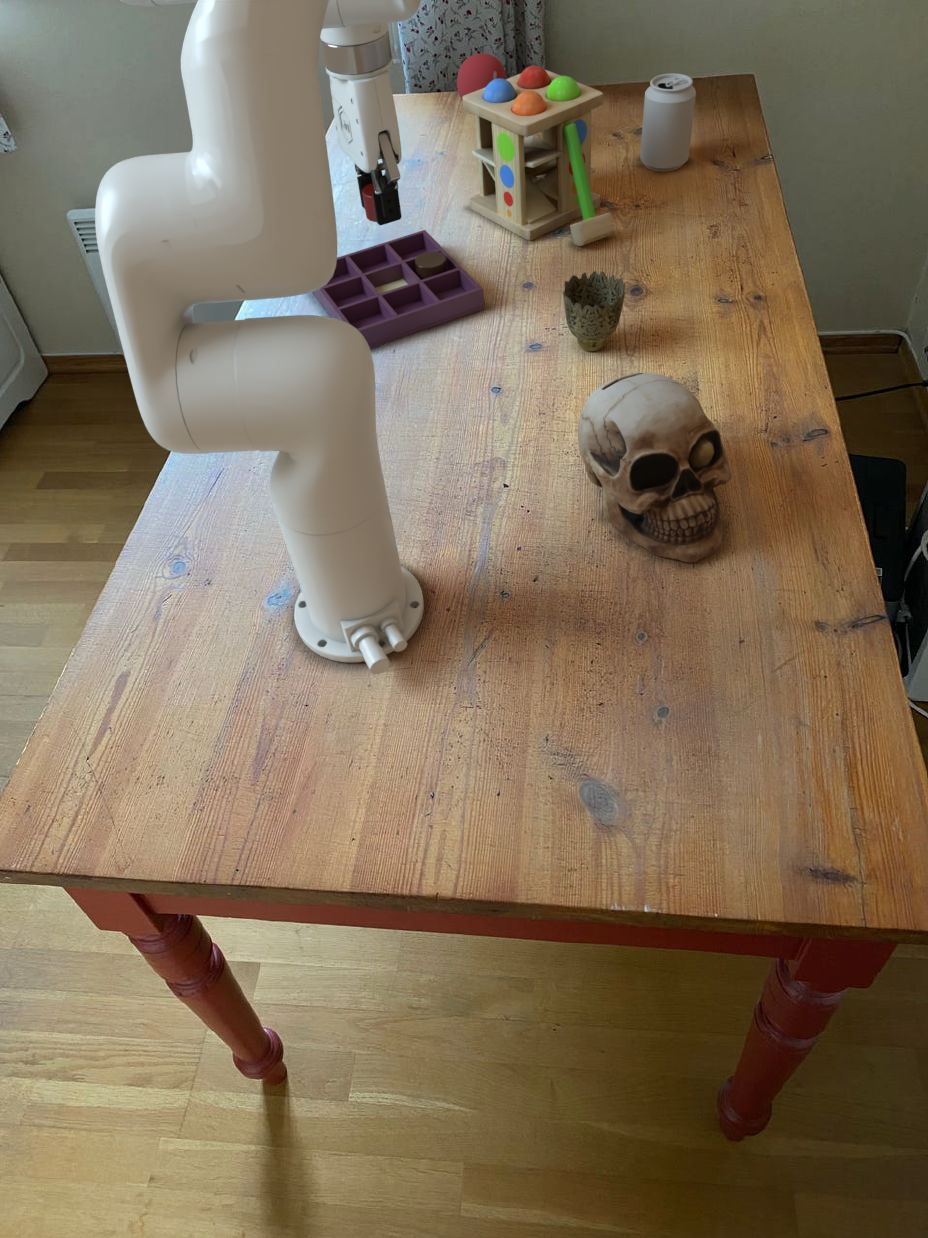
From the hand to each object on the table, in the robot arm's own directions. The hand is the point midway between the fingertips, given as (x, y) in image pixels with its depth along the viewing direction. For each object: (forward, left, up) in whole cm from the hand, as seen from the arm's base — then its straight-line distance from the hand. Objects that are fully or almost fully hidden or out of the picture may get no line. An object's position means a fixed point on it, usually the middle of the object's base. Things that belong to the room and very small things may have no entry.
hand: (381, 211), depth 113 cm
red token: (0, 0, 0) cm, 0 cm away
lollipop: (+31, -30, -12) cm, 45 cm away
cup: (-24, -17, -12) cm, 32 cm away
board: (0, 0, -12) cm, 12 cm away
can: (+12, -52, -12) cm, 55 cm away
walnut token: (0, -6, -12) cm, 13 cm away
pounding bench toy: (+7, -29, -12) cm, 32 cm away
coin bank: (-51, -8, -12) cm, 53 cm away
